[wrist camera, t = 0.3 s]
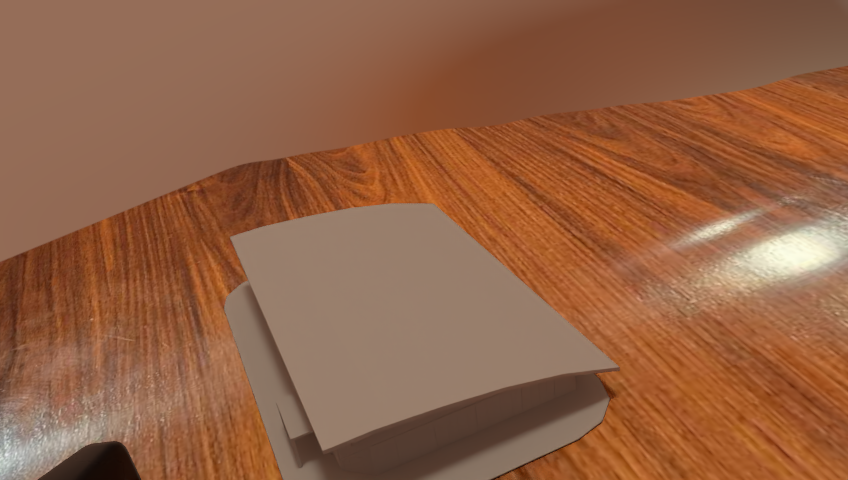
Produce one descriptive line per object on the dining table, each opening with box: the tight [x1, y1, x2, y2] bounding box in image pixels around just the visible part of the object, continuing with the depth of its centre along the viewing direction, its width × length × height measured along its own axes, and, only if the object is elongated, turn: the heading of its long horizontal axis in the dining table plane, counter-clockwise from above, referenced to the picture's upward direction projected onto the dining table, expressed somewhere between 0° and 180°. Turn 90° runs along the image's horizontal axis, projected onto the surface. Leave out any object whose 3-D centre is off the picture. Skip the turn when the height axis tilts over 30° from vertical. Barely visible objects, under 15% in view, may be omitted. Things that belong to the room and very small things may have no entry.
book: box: [224, 203, 620, 480], centre depth 38 cm, size 15×23×4 cm, turn 23°
